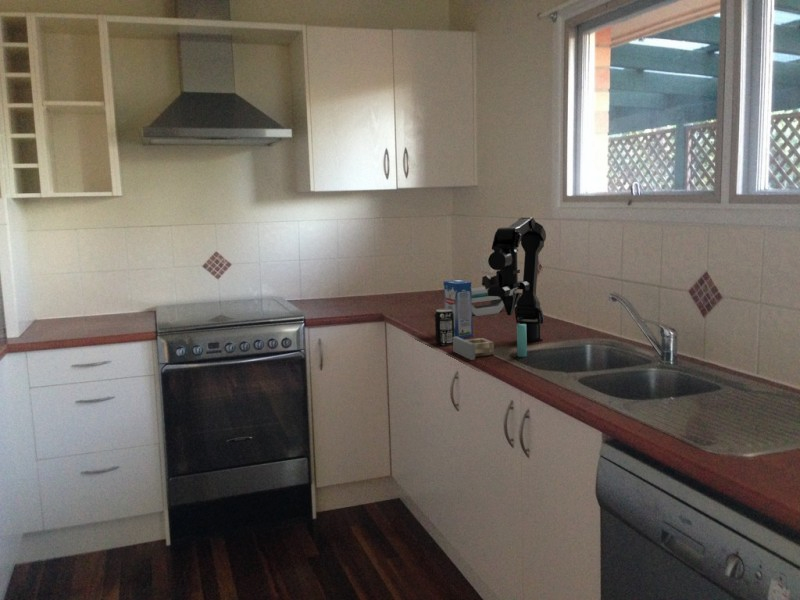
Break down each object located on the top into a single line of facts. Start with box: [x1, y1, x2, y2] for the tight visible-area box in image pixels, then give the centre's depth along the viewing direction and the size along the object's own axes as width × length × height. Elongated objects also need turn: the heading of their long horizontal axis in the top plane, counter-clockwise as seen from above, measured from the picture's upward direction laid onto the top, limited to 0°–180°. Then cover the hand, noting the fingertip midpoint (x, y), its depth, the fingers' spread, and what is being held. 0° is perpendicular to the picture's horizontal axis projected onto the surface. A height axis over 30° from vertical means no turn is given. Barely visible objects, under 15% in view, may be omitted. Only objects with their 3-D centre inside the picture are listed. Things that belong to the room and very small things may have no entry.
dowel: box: [516, 323, 528, 358], centre depth 230 cm, size 3×3×10 cm
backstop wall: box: [452, 336, 476, 361], centre depth 234 cm, size 2×14×5 cm, turn 19°
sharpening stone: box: [471, 286, 505, 317], centre depth 313 cm, size 25×8×11 cm, turn 117°
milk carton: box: [443, 279, 474, 339], centre depth 266 cm, size 10×6×20 cm, turn 23°
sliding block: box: [466, 337, 495, 358], centre depth 236 cm, size 8×8×4 cm
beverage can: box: [434, 308, 455, 346], centre depth 253 cm, size 7×7×12 cm
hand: (509, 315), depth 234 cm, fingers closed
